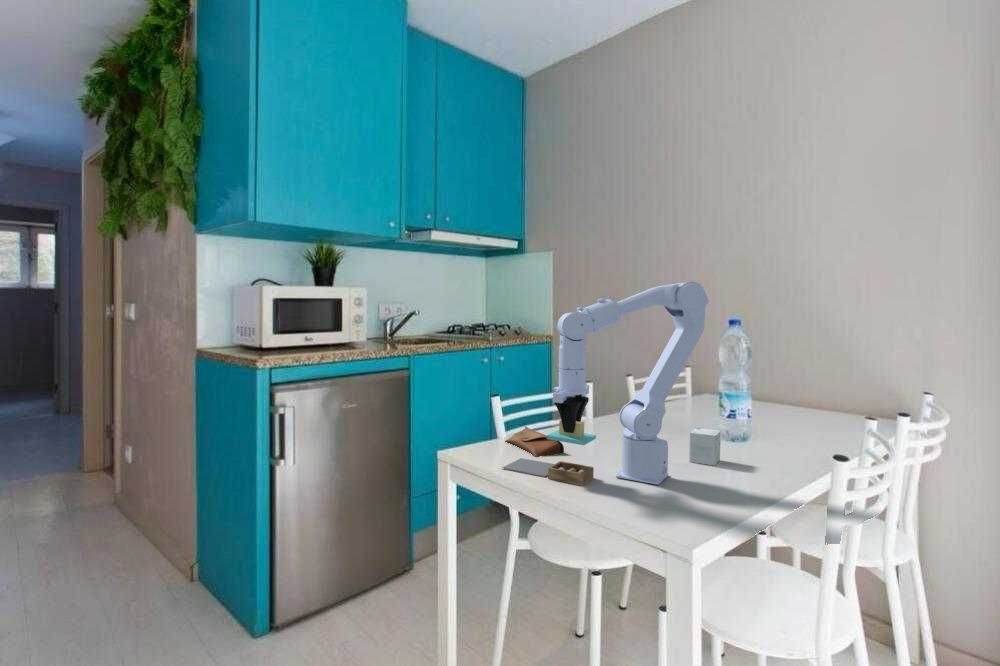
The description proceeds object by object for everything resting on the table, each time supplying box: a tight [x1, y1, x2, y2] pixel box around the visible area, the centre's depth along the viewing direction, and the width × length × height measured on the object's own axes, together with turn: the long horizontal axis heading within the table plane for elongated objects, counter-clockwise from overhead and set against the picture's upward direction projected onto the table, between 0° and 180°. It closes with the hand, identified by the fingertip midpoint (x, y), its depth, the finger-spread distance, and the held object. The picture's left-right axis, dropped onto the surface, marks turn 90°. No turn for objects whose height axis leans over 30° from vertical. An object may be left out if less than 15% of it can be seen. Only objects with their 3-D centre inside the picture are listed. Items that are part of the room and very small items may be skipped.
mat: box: [501, 457, 555, 478], centre depth 122 cm, size 11×9×1 cm
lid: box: [546, 419, 597, 446], centre depth 115 cm, size 9×7×4 cm
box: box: [547, 460, 595, 486], centre depth 115 cm, size 8×6×2 cm
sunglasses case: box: [504, 426, 565, 458], centre depth 141 cm, size 18×7×7 cm, turn 29°
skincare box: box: [688, 427, 721, 467], centre depth 129 cm, size 6×6×7 cm
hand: (571, 431), depth 115 cm, fingers closed on lid, 2 cm apart
